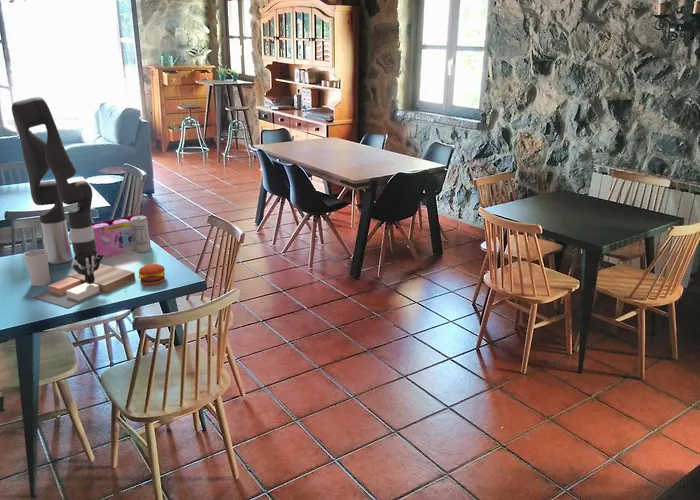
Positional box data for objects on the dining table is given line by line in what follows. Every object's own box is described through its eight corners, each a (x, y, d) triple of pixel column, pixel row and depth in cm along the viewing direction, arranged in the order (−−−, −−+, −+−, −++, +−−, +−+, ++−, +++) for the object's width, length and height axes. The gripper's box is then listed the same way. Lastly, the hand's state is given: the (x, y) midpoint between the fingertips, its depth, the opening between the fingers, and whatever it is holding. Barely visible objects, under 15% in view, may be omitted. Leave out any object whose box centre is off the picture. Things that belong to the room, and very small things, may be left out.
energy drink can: (152, 248, 261) (148, 215, 256) (148, 253, 255) (144, 219, 250) (138, 248, 261) (133, 215, 256) (134, 253, 255) (129, 220, 250)
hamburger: (139, 287, 222) (137, 271, 220) (141, 278, 231) (138, 262, 228) (166, 285, 224) (164, 268, 222) (166, 275, 233) (164, 259, 231)
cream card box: (67, 297, 213) (66, 290, 212) (88, 288, 221) (87, 281, 220) (78, 300, 211) (77, 294, 210) (99, 291, 218) (98, 285, 217)
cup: (57, 280, 228) (52, 250, 224) (41, 288, 221) (35, 257, 217) (41, 277, 231) (35, 248, 227) (24, 285, 224) (18, 255, 220)
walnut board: (68, 282, 226) (67, 275, 225) (99, 270, 238) (97, 263, 237) (105, 293, 217) (104, 285, 216) (135, 279, 229) (134, 272, 228)
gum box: (146, 241, 270) (143, 212, 265) (154, 246, 264) (150, 216, 259) (92, 254, 255) (87, 223, 250) (99, 259, 249) (94, 228, 245)
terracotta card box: (49, 291, 218) (48, 285, 217) (71, 283, 225) (69, 276, 224) (60, 295, 215) (59, 288, 214) (81, 286, 222) (80, 279, 222)
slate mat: (32, 297, 214) (32, 296, 214) (68, 282, 226) (68, 281, 226) (68, 308, 205) (68, 307, 205) (103, 292, 218) (103, 291, 218)
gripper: (91, 231, 218) (98, 275, 224) (59, 242, 207) (67, 288, 213) (105, 234, 215) (112, 279, 221) (74, 245, 204) (82, 292, 210)
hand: (90, 283), depth 217 cm, fingers closed
